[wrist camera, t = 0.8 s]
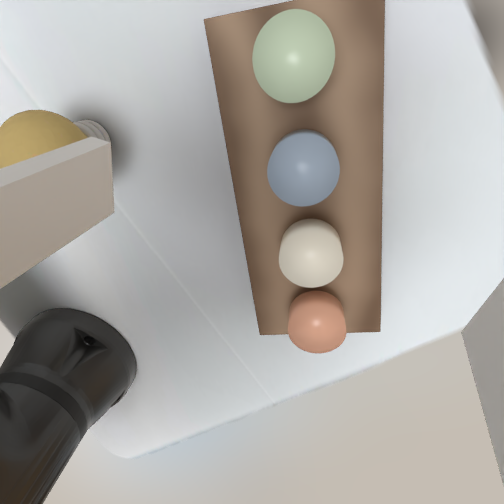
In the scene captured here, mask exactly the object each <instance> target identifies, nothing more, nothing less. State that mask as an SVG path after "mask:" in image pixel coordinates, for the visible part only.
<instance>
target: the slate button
mask: <svg viewBox="0 0 504 504" xmlns="http://www.w3.org/2000/svg"><path fill="white" fill-rule="evenodd" d="M339 174H340V165H339V160H338V157H337V154H336V151H335V149H334V147H333V145H332V143H331V142H330V141H329V139H328V138H326V137H325V136H324V135H323V134H321V133H319V132H317V131H314V130H308V129H302V130H296V131H293V132H291V133H289V134H287V135H285V136H284V137H283V138H282V139H281V140H280V141H279V142H278V143H277V145H276V146H275V148H274V150H273V152H272V154H271V157H270V159H269V162H268V167H267V177H268V181H269V184H270V187H271V189H272V190H273V192H274V193H275V194H276V195H277V196H278V197H279V198H280V199H281V200H283V201H284V202H286V203H288V204H291V205H294V206H311V205H314V204H317V203H319V202H321V201H323V200H324V199H325V198H327V197H328V196H329V195H330V194H331V193H332V191H333V190H334V188H335V187H336V185H337V182H338V179H339Z"/></svg>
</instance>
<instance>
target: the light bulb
mask: <svg viewBox="0 0 504 504" xmlns="http://www.w3.org/2000/svg"><path fill="white" fill-rule="evenodd" d="M89 137H95V138H98V139H101V140H104V141H107V142H111V141H110V137H109V135H108V133H107V132H106V130H105V129H104V128H103V127H102V126H101V125H100V124H98V123H97V122H95V121H91V120H81V121H76V122H71V121H70V120H68V119H67V118H65V117H63V116H61V115H59V114H56V113H53V112H49V111H44V110H28V111H24V112H20V113H17V114H15V115H14V116H12V117H10V118H9V119H8V120H6V121H5V122H4V123H3V124H2V126H1V127H0V169H1V168H4V167H7V166H10V165H13V164H15V163H18V162H21V161H24V160H27V159H29V158H32V157H35V156H38V155H41V154H44V153H46V152H49V151H52V150H55V149H58V148H60V147H63V146H66V145H69V144H72V143H75V142H77V141H80V140H83V139H86V138H89Z"/></svg>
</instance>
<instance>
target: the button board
mask: <svg viewBox="0 0 504 504" xmlns="http://www.w3.org/2000/svg"><path fill="white" fill-rule="evenodd" d="M290 9H302V10H306V11H309V12H312V13H313V14H315V15H317V16H318V17H319V18H321V19H322V20H323V21H324V23H325V24H326V25H327V27H328V28H329V30H330V32H331V34H332V37H333V40H334V45H335V61H334V66H333V70H332V73H331V75H330V77H329V79H328V81H327V83H326V84H325V86H324V87H323V88H322V89H321V90H320V91H319V92H318V93H317V94H316V95H314V96H313V97H311V98H309V99H308V100H305V101H302V102H298V103H285V102H281V101H278V100H276V99H274V98H272V97H271V96H269V95H268V94H267V93H266V92H265V91H264V90H263V89H262V88H261V86H260V85H259V83H258V81H257V79H256V77H255V73H254V70H253V62H252V56H253V48H254V44H255V41H256V38H257V36H258V34H259V32H260V30H261V29H262V27H263V26H264V25H265V24H266V23H267V22H268V21H269V20H270V19H271V18H272V17H273V16H275V15H277V14H278V13H281V12H283V11H286V10H290ZM384 20H385V0H293V1H289V2H284V3H279V4H274V5H270V6H265V7H260V8H255V9H251V10H246V11H241V12H236V13H231V14H227V15H222V16H217V17H212V18H208V19H204V23H205V29H206V35H207V40H208V46H209V52H210V57H211V63H212V68H213V74H214V80H215V85H216V91H217V96H218V102H219V108H220V113H221V119H222V125H223V130H224V136H225V141H226V147H227V153H228V158H229V164H230V170H231V175H232V181H233V186H234V192H235V198H236V203H237V209H238V215H239V220H240V226H241V231H242V237H243V243H244V248H245V254H246V259H247V265H248V271H249V276H250V282H251V288H252V293H253V299H254V304H255V310H256V316H257V321H258V327H259V333H260V335H279V334H288V322H289V309H290V306H291V303H292V302H293V300H294V299H295V298H296V297H298V296H299V295H301V294H303V293H305V292H309V291H323V292H327V293H329V294H331V295H333V296H334V297H336V298H337V299H338V300H339V301H340V303H341V305H342V307H343V311H344V318H345V324H346V333H355V332H380V324H381V248H382V172H383V96H384ZM302 129H308V130H314V131H317V132H319V133H321V134H323V135H324V136H325V137H326V138H328V139H329V141H330V142H331V143H332V145H333V147H334V149H335V151H336V154H337V157H338V160H339V165H340V174H339V179H338V182H337V185H336V187H335V188H334V190H333V191H332V193H331V194H330V195H329V196H328V197H327V198H325V199H324V200H323V201H321V202H319V203H317V204H314V205H311V206H294V205H291V204H288V203H286V202H284V201H283V200H281V199H280V198H279V197H278V196H277V195H276V194H275V193H274V192H273V190H272V189H271V187H270V184H269V181H268V177H267V167H268V162H269V159H270V157H271V154H272V152H273V150H274V148H275V146H276V145H277V143H278V142H279V141H280V140H281V139H282V138H283V137H284V136H285V135H287V134H289V133H291V132H293V131H296V130H302ZM303 219H318V220H322V221H324V222H326V223H328V224H330V225H331V226H332V227H333V228H334V229H335V230H336V232H337V233H338V235H339V238H340V242H341V247H342V252H343V258H344V259H343V266H342V269H341V271H340V273H339V274H338V276H337V277H336V278H335V279H334V280H333V281H331V282H330V283H328V284H326V285H324V286H320V287H314V288H308V287H302V286H299V285H296V284H294V283H292V282H291V281H290V280H288V279H287V278H286V277H285V276H284V274H283V273H282V271H281V269H280V266H279V252H280V246H281V240H282V237H283V234H284V233H285V231H286V230H287V229H288V228H289V227H290V226H291V225H292V224H294V223H295V222H298V221H300V220H303Z"/></svg>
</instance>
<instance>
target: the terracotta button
mask: <svg viewBox="0 0 504 504" xmlns="http://www.w3.org/2000/svg"><path fill="white" fill-rule="evenodd" d="M288 334H289V337H290V339H291V341H292V342H293V343H294V344H295V345H296V346H297V347H298V348H300V349H302V350H304V351H307V352H311V353H325V352H329V351H332V350H334V349H336V348H337V347H339V346H340V345H341V344H342V342H343V341H344V339H345V337H346V324H345V318H344V311H343V307H342V305H341V303H340V301H339V300H338V299H337V298H336V297H334V296H333V295H331V294H329V293H327V292H323V291H309V292H305V293H303V294H301V295H299V296H298V297H296V298H295V299H294V300H293V302H292V303H291V306H290V309H289V322H288Z"/></svg>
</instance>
